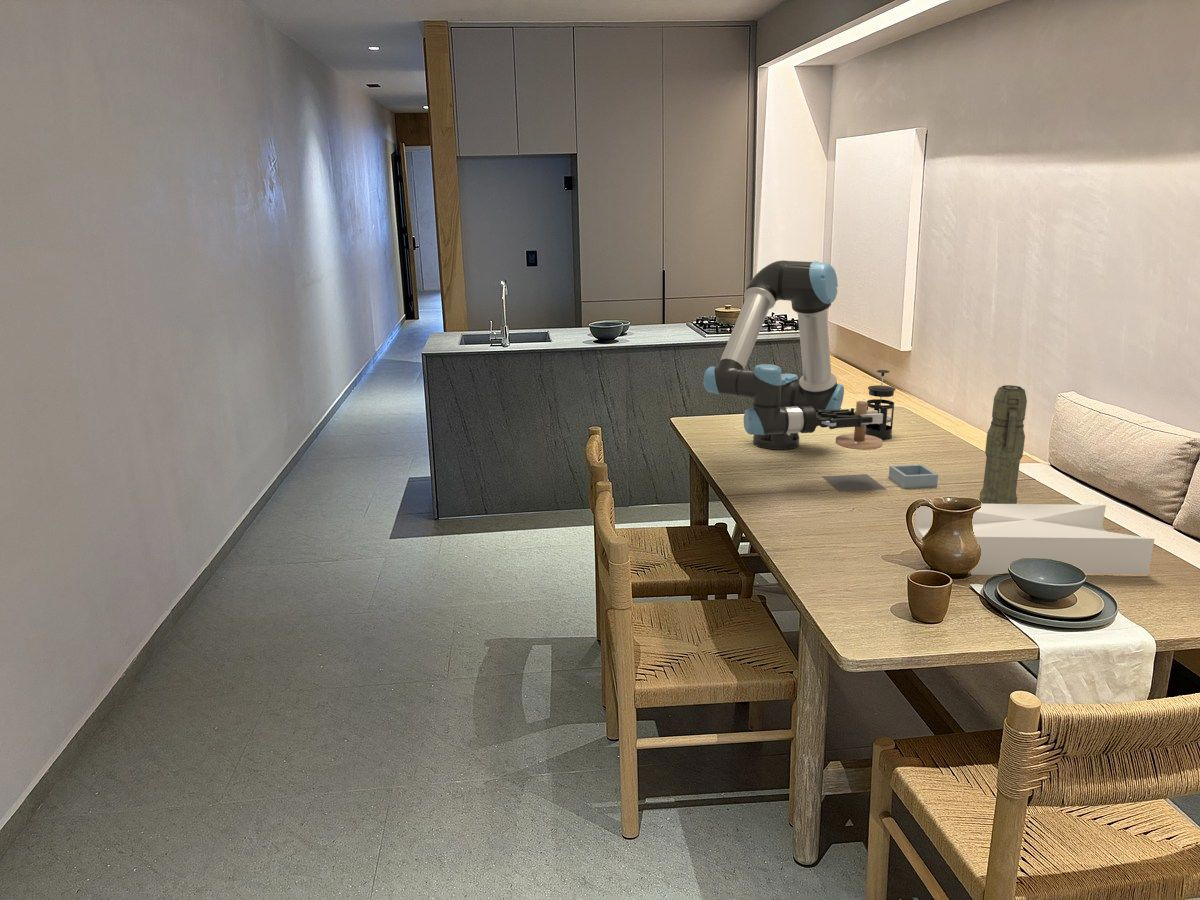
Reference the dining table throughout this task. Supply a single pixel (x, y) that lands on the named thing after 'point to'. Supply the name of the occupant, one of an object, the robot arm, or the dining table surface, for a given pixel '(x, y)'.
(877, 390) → the french press
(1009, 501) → the green carved statue
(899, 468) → the dish
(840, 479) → the mat
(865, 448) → the lid
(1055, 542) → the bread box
